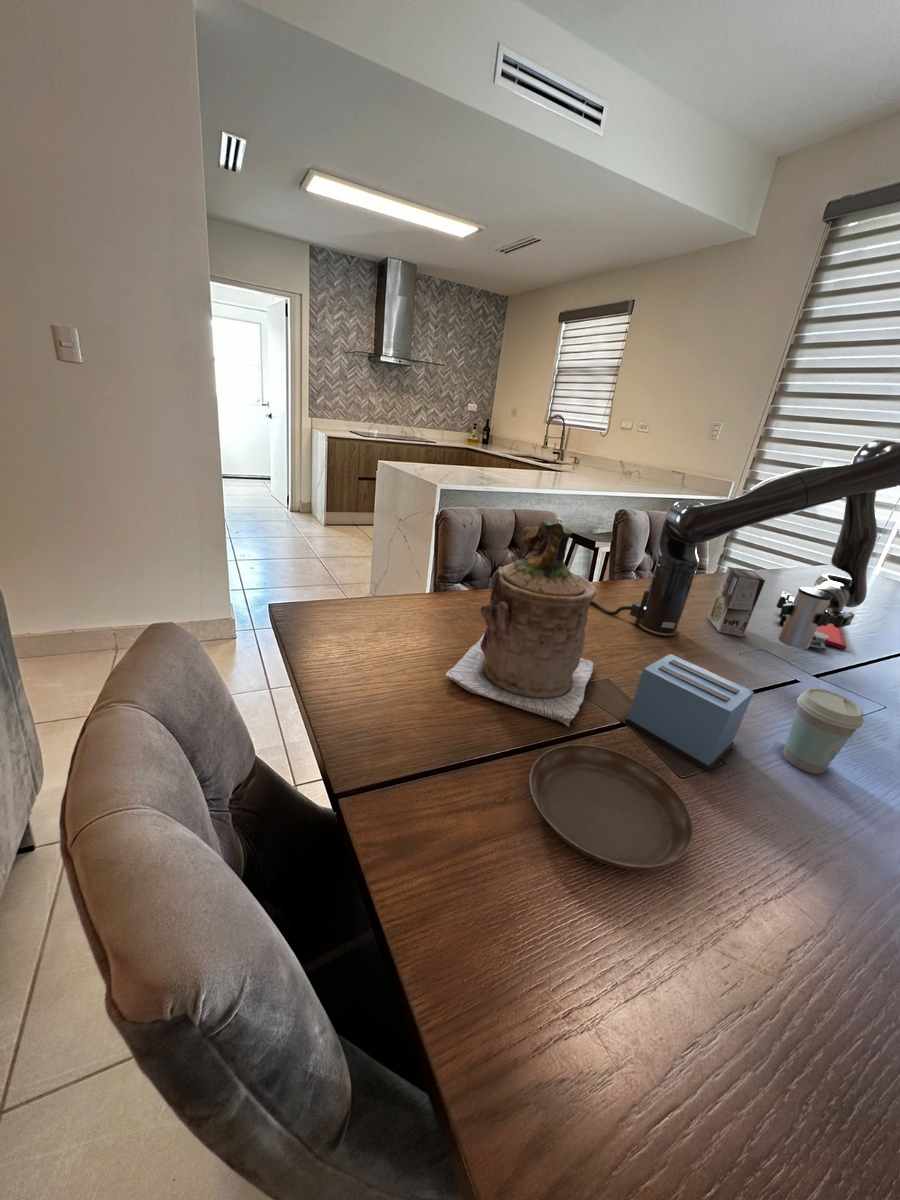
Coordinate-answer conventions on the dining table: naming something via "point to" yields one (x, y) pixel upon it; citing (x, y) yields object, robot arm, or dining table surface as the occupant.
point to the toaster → (688, 709)
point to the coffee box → (736, 600)
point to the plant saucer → (610, 807)
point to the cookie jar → (533, 632)
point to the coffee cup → (820, 729)
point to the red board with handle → (824, 635)
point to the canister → (804, 617)
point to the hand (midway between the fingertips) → (802, 616)
